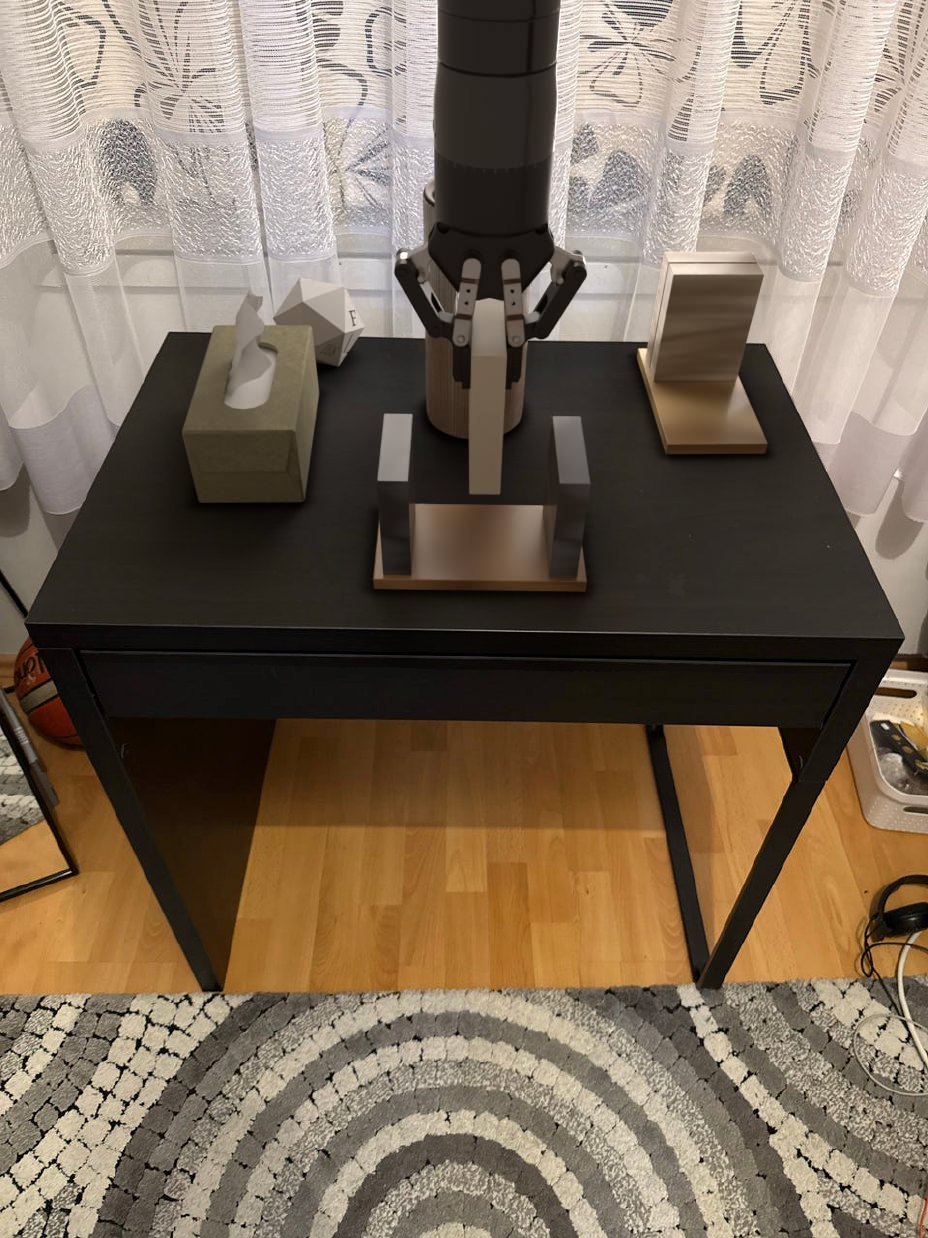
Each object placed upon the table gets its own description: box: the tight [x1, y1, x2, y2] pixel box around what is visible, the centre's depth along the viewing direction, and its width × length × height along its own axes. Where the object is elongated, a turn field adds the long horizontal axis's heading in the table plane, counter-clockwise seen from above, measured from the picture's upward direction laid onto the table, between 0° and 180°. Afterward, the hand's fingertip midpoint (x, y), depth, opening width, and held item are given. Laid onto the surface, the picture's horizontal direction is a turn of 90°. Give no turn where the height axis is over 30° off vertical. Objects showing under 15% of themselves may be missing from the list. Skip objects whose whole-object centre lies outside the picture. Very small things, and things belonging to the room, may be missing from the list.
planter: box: [422, 178, 533, 440], centre depth 89 cm, size 10×10×23 cm
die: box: [272, 277, 366, 367], centre depth 101 cm, size 8×9×10 cm
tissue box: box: [181, 291, 320, 504], centre depth 87 cm, size 19×10×16 cm, turn 2°
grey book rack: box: [372, 413, 592, 593], centre depth 78 cm, size 18×10×11 cm, turn 90°
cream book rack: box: [636, 251, 769, 455], centre depth 94 cm, size 18×10×13 cm, turn 2°
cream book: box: [468, 298, 507, 495], centre depth 71 cm, size 2×9×12 cm, turn 0°
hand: (486, 382), depth 70 cm, fingers closed on cream book, 2 cm apart
